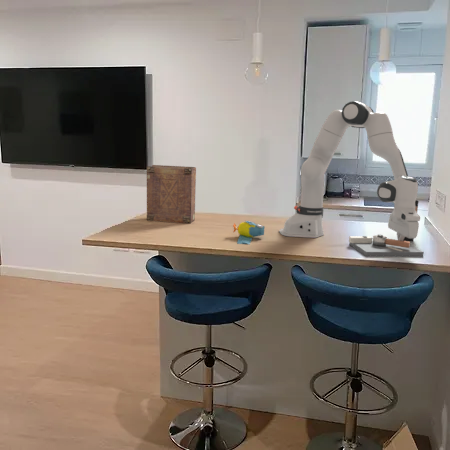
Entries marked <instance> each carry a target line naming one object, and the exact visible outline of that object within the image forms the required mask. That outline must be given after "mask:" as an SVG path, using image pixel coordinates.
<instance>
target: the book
mask: <svg viewBox="0 0 450 450" xmlns="http://www.w3.org/2000/svg"><path fill="white" fill-rule="evenodd" d="M196 176H197V167H194V166H184V165H183V166H181V165H178V166H177V165H161V164H152V165H148V166H146V220H147V222H164V223H165V222H166V223H177V224H191V223H192V224H193V222H194V221H195V219H196V218H195V217H196V216H195V215H196V182H197V181H196V180H197V179H196V178H197V177H196Z"/></svg>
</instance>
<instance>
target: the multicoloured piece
mask: <svg viewBox="0 0 450 450" xmlns="http://www.w3.org/2000/svg"><path fill="white" fill-rule="evenodd" d="M372 241H373V243H372V244H373V245H376V246H386V244H387V245H393V246H400V247H406V248H409V247H410V245H411V242H408V241H401V240H398V239H393V238H388V237H387V236H384V235H383V234H377V235H375V234H374V235H373V236H372Z"/></svg>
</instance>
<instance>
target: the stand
mask: <svg viewBox="0 0 450 450" xmlns="http://www.w3.org/2000/svg"><path fill="white" fill-rule="evenodd" d="M372 243H373V236H367V235H364V236H361V235H360V236H359V235H357V236H356V235H355V236H353V235H352V236H351V235H350V236H349V237H348V244H349V246H350V247H352V248H353V249H355V250H356V251H358V252H359V253H361V254H362V256H365V257H398V258H399V257H401V258H402V257H410V258H411V257H414V258H415V257H416V258H417V257H424V251H422V250H421V249H418V248H417V247H415V246H413V245H411V244H410V247H409V248H406V247H400V246H393V245H387V244H386V246H376V245H373V244H372Z"/></svg>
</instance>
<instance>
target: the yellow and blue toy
mask: <svg viewBox="0 0 450 450" xmlns="http://www.w3.org/2000/svg"><path fill="white" fill-rule="evenodd" d="M237 226H238V227H237ZM232 228H233V233H235V232H236V231H237V232H238V235H239V236H238V239H237V242H236V243H237V245H251V242H252V240H253V238H256V237H260V236H261V237H262V236H264V235H265V225H262V224H260V223H255V222H253V221H249V220H245V221H243V222H240V223H239V224H238V225H236V223H233V227H232Z"/></svg>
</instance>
